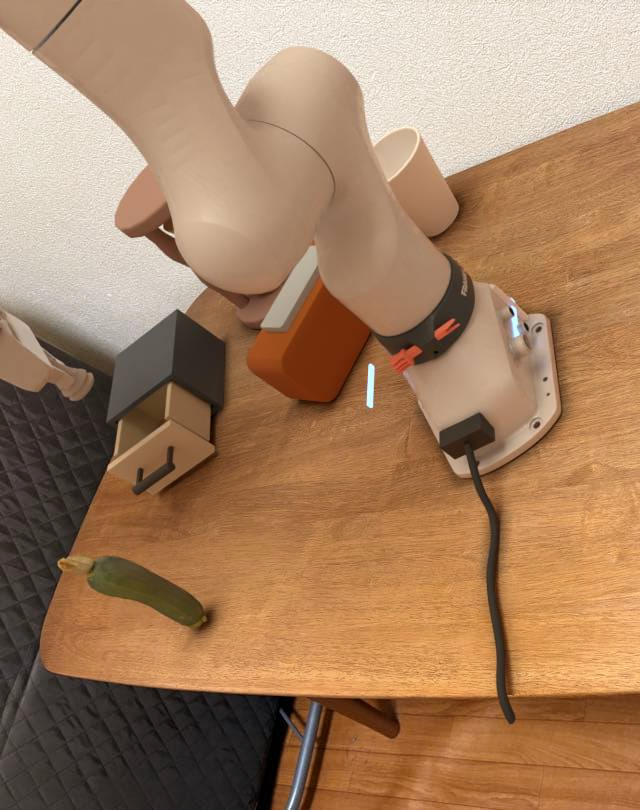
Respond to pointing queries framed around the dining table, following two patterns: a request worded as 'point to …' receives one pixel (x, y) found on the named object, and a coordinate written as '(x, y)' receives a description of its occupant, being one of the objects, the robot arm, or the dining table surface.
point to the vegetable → (137, 587)
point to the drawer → (162, 438)
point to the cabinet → (168, 365)
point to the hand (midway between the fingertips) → (66, 377)
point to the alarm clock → (307, 338)
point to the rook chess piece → (75, 381)
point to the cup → (416, 180)
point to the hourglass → (147, 213)
